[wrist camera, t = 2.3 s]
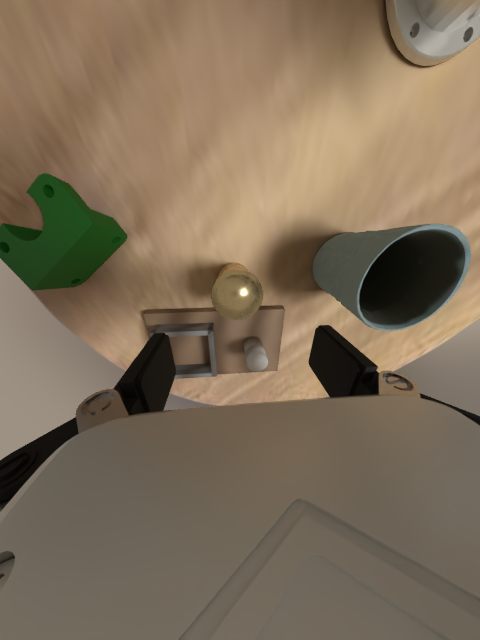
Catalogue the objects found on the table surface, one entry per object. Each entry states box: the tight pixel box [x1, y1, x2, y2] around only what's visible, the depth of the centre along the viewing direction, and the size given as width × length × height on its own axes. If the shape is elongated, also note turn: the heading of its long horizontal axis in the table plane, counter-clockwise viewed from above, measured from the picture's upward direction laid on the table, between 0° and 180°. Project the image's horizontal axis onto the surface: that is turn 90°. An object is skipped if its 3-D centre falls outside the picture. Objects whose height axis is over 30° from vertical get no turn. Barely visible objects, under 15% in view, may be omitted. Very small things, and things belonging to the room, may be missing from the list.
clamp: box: [0, 174, 127, 290], centre depth 20 cm, size 12×6×9 cm, turn 120°
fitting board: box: [143, 306, 285, 379], centre depth 28 cm, size 22×13×6 cm, turn 90°
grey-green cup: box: [312, 224, 471, 331], centre depth 21 cm, size 10×10×12 cm
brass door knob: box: [211, 263, 263, 320], centre depth 23 cm, size 6×6×8 cm
